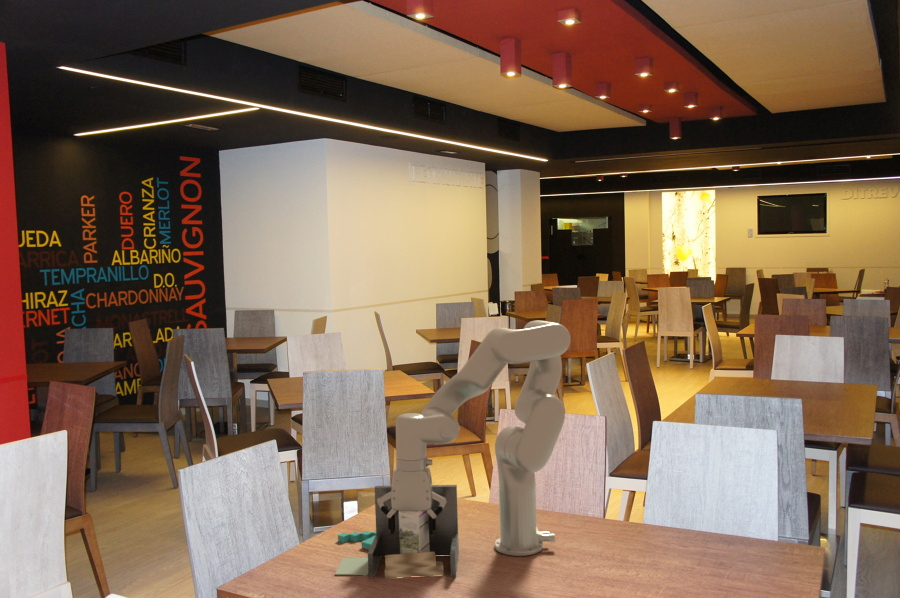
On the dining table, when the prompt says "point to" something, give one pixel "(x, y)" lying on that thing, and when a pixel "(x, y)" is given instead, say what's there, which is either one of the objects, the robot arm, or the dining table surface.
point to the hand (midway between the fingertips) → (412, 532)
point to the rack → (442, 537)
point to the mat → (353, 566)
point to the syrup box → (414, 531)
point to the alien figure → (358, 538)
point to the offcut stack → (412, 565)
